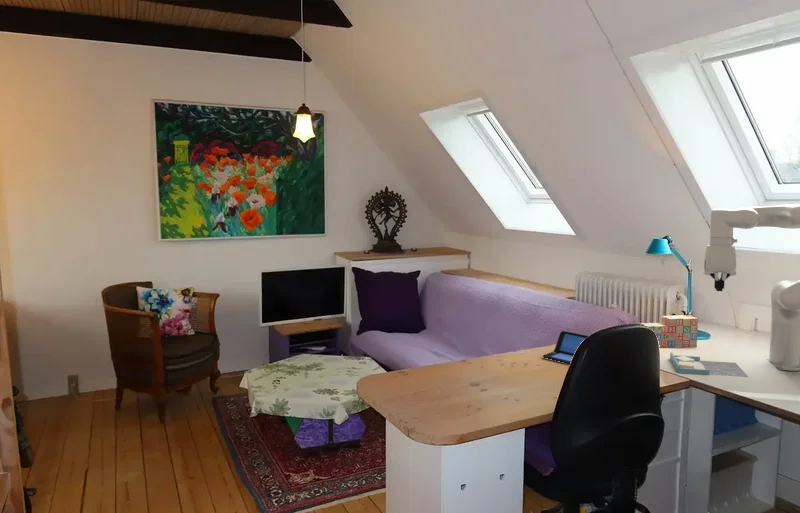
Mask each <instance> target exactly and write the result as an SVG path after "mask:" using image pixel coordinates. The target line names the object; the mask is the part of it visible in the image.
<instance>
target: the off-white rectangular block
mask: <svg viewBox="0 0 800 513" xmlns="http://www.w3.org/2000/svg"><path fill="white" fill-rule="evenodd" d="M679 365H680V368H689V369H695V362H694V363H692V362H683V361H679Z"/></svg>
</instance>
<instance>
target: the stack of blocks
mask: <svg viewBox="0 0 800 513" xmlns="http://www.w3.org/2000/svg"><path fill="white" fill-rule="evenodd" d="M698 322H699V320H698V318H697V317H695V316H692V315H683V314H681V315H680V314H679V315H661V322H641V323H640V326H641V325H644V326H647V327H649V328H650V329H652V330H653V331H654V333H655V334H656V336H657V338H658V341H659V345H660V348H661V349H662V348H663V349H664V348H665V349H667V348H668V349H669V348H697V344H698V328H699V327H698Z"/></svg>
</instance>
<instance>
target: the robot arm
mask: <svg viewBox="0 0 800 513" xmlns="http://www.w3.org/2000/svg"><path fill="white" fill-rule="evenodd" d="M758 227H760V228H761V227H769V228H771V227H772V228H781V229H794V230H795V229H800V204H784V205H774V206H773V205H772V206H749V207H748V206H747V207H739V208H737V209H730V208H714V209H712V210H711V213H710V226H709V244H707V245H706V248H705V253H704V261H703V268H704V271H703V274H704V275H706V276H710V277H711V278H712V279H713V280H714V286H713V287H714V289H715V291H716V292H723V290H724V289H725V281H726V280H727V279H728V278H730V277H733V276H737V271H736V270H737V255H736V247H735V245H734V244H736V243H738V239H737V238H734V229H742V230H749V229H750V230H751V229H753V228H758ZM719 273H721V274H720V277H719ZM770 300H771V305H770V306H771V320H770V336H769V352H768V353H769V356H768V358H767V359H766V360H767V362H769V363H770V364H771V365H772V366H773V367H774V368H775V369H776V370H780V371H786V372H787V371H790V372H797V371H798V372H799V371H800V279H799V280H797V281H794V280H793V281H792V280H791V279H790V280H788V279H787V280H780V281H779V282H777V283H775V285H774V286H773V287H772V289H771V293H770Z"/></svg>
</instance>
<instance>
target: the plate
mask: <svg viewBox="0 0 800 513" xmlns="http://www.w3.org/2000/svg"><path fill="white" fill-rule="evenodd" d="M699 362H700V364H701V365H702V366H703V368H704V369H705V370H710V372H709V376H710V375H712V376H727V377H741V378H743V377H744V378H749V375H748V374H746V372H745V371H744V370H743V369H742V368H741V367H740V366H739V365H738V364H737V363H736V362H729V361H727V362H726V361H713V360H712V361H710V360H700V361H699Z"/></svg>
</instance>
